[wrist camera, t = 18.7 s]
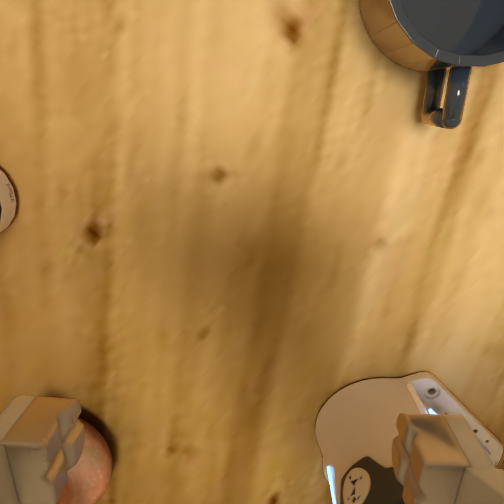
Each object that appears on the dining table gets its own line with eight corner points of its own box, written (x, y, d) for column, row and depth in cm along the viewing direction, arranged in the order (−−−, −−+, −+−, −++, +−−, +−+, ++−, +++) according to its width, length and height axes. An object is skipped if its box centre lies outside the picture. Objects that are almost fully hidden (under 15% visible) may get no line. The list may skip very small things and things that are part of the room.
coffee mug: (368, -126, 31) (400, -196, 24) (551, -124, 31) (642, -194, 23) (344, 121, 37) (364, 128, 30) (496, 124, 37) (554, 133, 30)
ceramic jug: (112, 500, 55) (64, 629, 42) (3, 479, 55) (-82, 603, 41) (129, 394, 49) (78, 506, 36) (5, 369, 48) (-93, 473, 35)
